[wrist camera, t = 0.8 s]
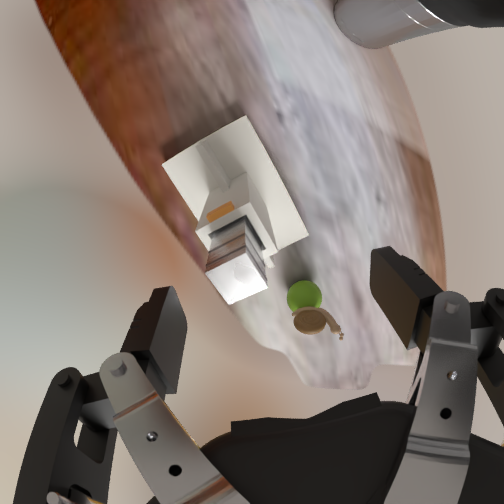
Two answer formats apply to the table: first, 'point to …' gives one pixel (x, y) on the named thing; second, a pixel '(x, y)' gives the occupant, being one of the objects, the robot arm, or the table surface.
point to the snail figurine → (309, 309)
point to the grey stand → (236, 187)
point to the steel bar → (236, 261)
